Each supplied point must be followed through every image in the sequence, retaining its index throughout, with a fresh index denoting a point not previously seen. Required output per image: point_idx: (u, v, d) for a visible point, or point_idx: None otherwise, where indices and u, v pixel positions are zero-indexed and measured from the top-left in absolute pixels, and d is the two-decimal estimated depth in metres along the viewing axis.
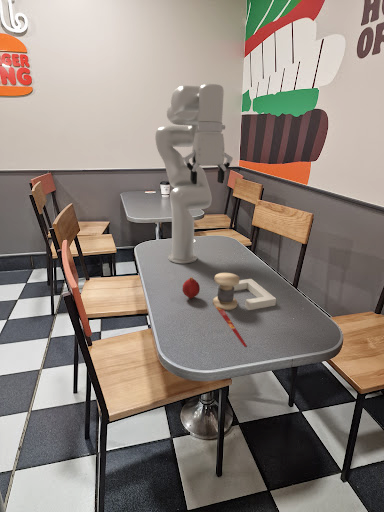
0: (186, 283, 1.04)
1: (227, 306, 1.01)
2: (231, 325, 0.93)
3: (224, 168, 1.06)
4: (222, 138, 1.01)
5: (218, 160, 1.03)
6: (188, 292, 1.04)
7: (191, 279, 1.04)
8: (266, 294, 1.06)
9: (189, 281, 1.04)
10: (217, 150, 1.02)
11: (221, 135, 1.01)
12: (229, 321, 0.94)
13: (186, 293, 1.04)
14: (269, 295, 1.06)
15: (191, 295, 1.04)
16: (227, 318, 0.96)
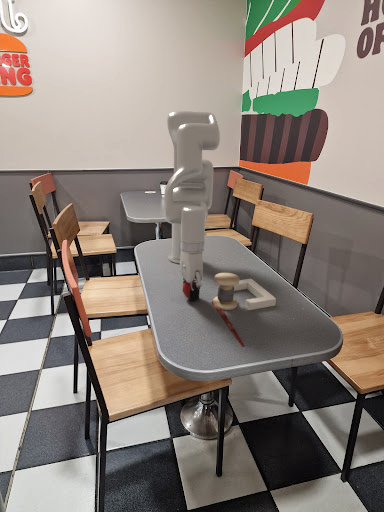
0: (186, 283, 1.04)
1: (227, 306, 1.01)
2: (229, 325, 0.93)
3: None
4: None
5: None
6: (188, 292, 1.04)
7: None
8: (266, 294, 1.06)
9: None
10: None
11: None
12: (228, 321, 0.95)
13: (186, 293, 1.04)
14: (269, 295, 1.06)
15: None
16: (226, 318, 0.96)
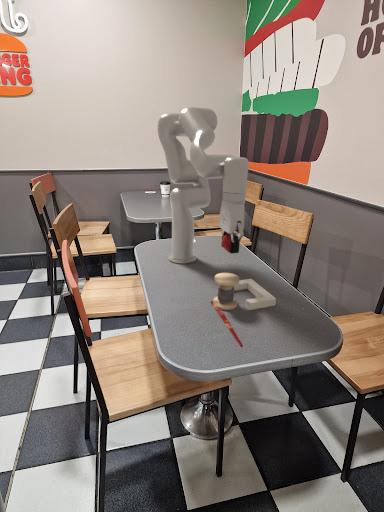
0: (226, 236, 1.06)
1: (227, 306, 1.01)
2: (228, 325, 0.93)
3: None
4: None
5: None
6: (228, 245, 1.05)
7: None
8: (266, 294, 1.06)
9: (229, 234, 1.06)
10: None
11: None
12: (226, 321, 0.95)
13: (226, 246, 1.06)
14: (269, 295, 1.06)
15: None
16: (224, 318, 0.96)
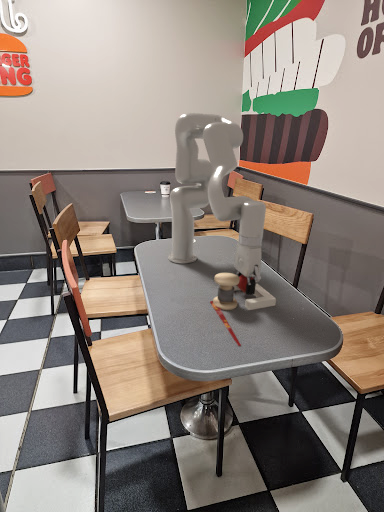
0: (242, 277, 1.06)
1: (227, 306, 1.01)
2: (227, 324, 0.93)
3: None
4: None
5: None
6: (244, 286, 1.05)
7: None
8: (266, 294, 1.06)
9: None
10: None
11: None
12: (225, 320, 0.95)
13: (242, 287, 1.05)
14: (269, 295, 1.06)
15: None
16: (223, 317, 0.96)
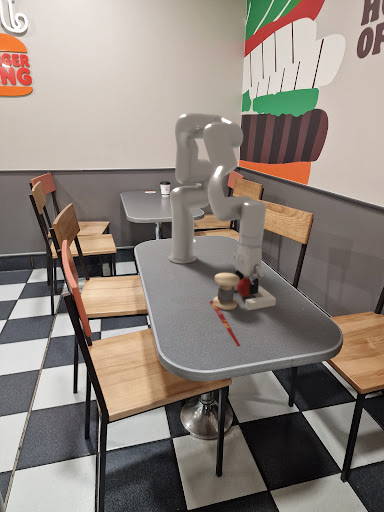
0: (241, 282, 1.06)
1: (227, 306, 1.01)
2: (226, 324, 0.93)
3: None
4: None
5: None
6: (243, 291, 1.06)
7: (246, 278, 1.06)
8: (266, 294, 1.06)
9: (244, 280, 1.06)
10: None
11: None
12: (224, 320, 0.95)
13: (241, 292, 1.06)
14: (269, 295, 1.06)
15: (246, 294, 1.06)
16: (223, 317, 0.96)
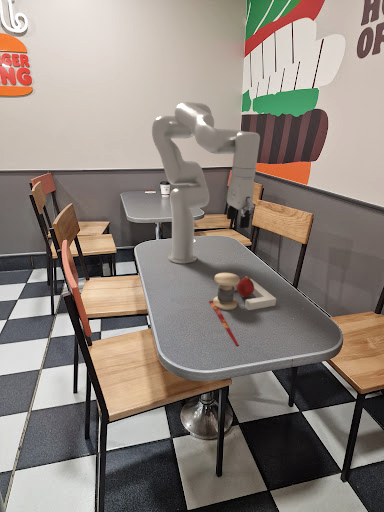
0: (241, 282, 1.06)
1: (227, 306, 1.01)
2: (225, 324, 0.93)
3: None
4: None
5: None
6: (243, 291, 1.06)
7: (246, 278, 1.06)
8: (266, 294, 1.06)
9: (244, 280, 1.06)
10: None
11: None
12: (223, 320, 0.95)
13: (241, 292, 1.06)
14: (269, 295, 1.06)
15: (246, 294, 1.06)
16: (222, 317, 0.96)
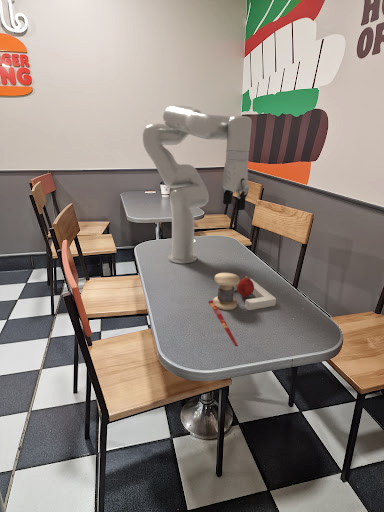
0: (241, 282, 1.06)
1: (227, 306, 1.01)
2: (224, 324, 0.93)
3: None
4: None
5: None
6: (243, 291, 1.06)
7: (246, 278, 1.06)
8: (266, 294, 1.06)
9: (244, 280, 1.06)
10: None
11: None
12: (222, 320, 0.95)
13: (241, 292, 1.06)
14: (269, 295, 1.06)
15: (246, 294, 1.06)
16: (221, 317, 0.96)
